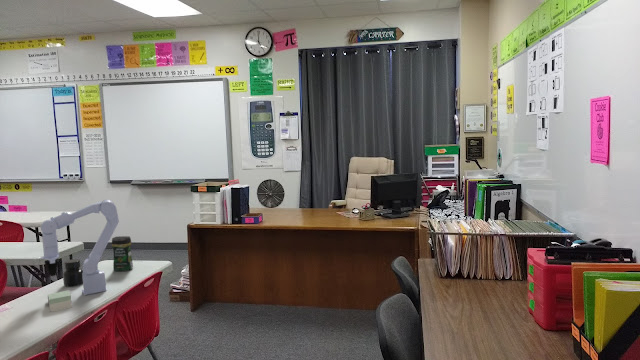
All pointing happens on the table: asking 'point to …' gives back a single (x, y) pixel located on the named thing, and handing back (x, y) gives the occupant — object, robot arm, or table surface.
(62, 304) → the dish
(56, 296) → the lid
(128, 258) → the coffee jar
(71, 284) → the ink bottle
